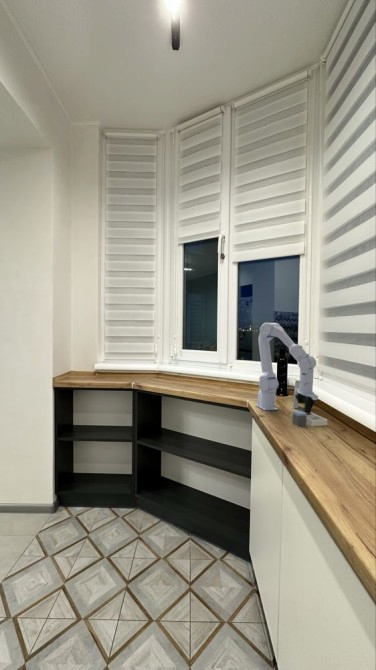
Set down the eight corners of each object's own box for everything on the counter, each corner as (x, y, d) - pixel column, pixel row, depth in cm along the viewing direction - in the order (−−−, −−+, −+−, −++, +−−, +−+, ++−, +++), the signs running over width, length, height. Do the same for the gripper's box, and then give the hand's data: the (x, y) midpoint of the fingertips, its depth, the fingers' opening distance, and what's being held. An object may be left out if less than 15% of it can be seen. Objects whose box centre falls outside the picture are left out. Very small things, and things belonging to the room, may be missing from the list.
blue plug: (292, 423, 132) (293, 410, 132) (300, 422, 133) (300, 410, 133) (297, 426, 128) (298, 413, 128) (306, 425, 129) (306, 413, 129)
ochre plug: (297, 414, 141) (298, 403, 141) (304, 414, 142) (305, 403, 142) (302, 417, 137) (303, 405, 137) (310, 417, 138) (310, 405, 138)
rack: (292, 416, 142) (292, 411, 142) (306, 415, 144) (306, 410, 144) (311, 426, 129) (311, 420, 129) (327, 425, 131) (327, 419, 131)
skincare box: (292, 408, 157) (294, 379, 156) (293, 405, 162) (295, 378, 161) (310, 410, 153) (311, 381, 152) (310, 407, 159) (312, 380, 158)
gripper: (324, 385, 133) (322, 415, 134) (303, 379, 147) (302, 406, 148) (310, 386, 131) (309, 416, 132) (291, 379, 145) (289, 407, 146)
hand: (304, 411), depth 140 cm, fingers open, 4 cm apart
